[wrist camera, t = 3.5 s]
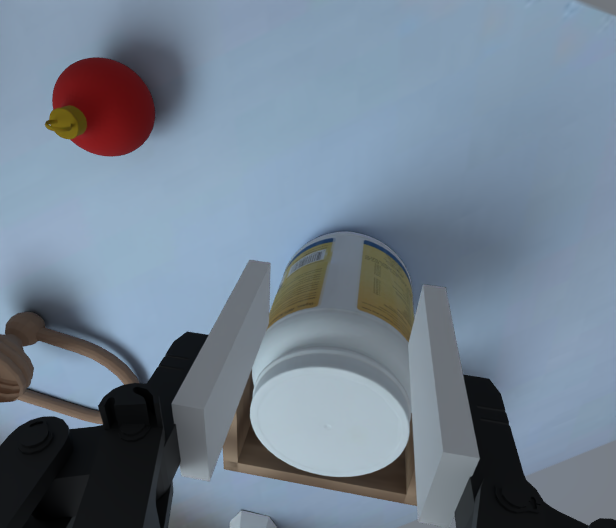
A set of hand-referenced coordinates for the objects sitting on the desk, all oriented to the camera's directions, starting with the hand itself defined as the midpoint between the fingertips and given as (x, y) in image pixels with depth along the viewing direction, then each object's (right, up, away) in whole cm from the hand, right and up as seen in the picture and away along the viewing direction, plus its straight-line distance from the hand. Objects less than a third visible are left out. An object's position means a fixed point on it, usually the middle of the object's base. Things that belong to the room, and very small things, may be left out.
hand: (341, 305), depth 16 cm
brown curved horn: (-32, -10, +39) cm, 52 cm away
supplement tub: (+3, 0, +27) cm, 27 cm away
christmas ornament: (-16, +15, +21) cm, 30 cm away
